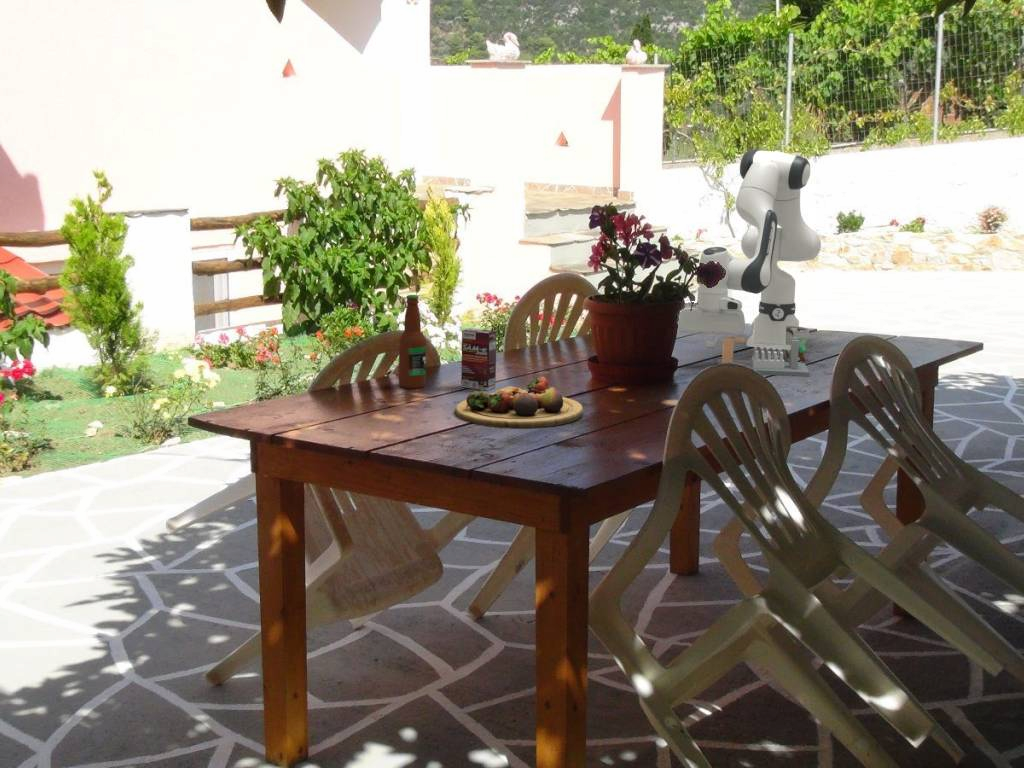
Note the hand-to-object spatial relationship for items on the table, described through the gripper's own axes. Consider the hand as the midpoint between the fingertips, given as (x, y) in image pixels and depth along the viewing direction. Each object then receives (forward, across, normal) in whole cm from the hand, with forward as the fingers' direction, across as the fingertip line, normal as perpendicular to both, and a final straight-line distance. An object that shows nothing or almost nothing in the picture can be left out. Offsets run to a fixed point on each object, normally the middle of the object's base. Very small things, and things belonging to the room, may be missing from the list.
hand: (710, 347), depth 385 cm
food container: (+6, +28, +19) cm, 34 cm away
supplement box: (+6, -63, -45) cm, 78 cm away
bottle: (+6, -81, -48) cm, 94 cm away
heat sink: (+6, +16, 0) cm, 17 cm away
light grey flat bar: (-1, +18, 0) cm, 18 cm away
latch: (+4, +7, 0) cm, 8 cm away
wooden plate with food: (+6, -48, -75) cm, 89 cm away
